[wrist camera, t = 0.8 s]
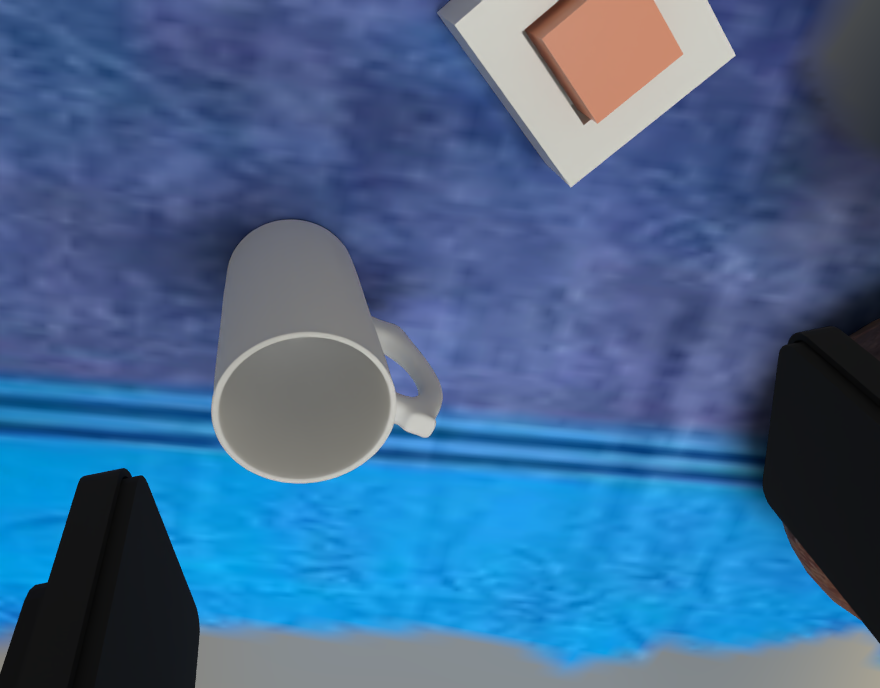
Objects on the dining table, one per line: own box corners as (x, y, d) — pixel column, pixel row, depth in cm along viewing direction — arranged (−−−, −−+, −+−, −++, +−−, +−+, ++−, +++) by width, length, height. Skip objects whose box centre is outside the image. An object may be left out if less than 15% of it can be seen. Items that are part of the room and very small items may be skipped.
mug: (201, 313, 40) (186, 460, 30) (247, 191, 38) (248, 307, 27) (385, 369, 44) (427, 517, 34) (438, 263, 41) (501, 387, 31)
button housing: (545, 164, 40) (570, 187, 37) (436, 12, 35) (454, 25, 32) (696, 41, 38) (735, 55, 35) (602, -133, 34) (637, -135, 31)
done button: (577, 110, 36) (597, 123, 34) (524, 29, 34) (541, 38, 32) (658, 44, 35) (683, 54, 33) (608, -43, 33) (632, -38, 31)
